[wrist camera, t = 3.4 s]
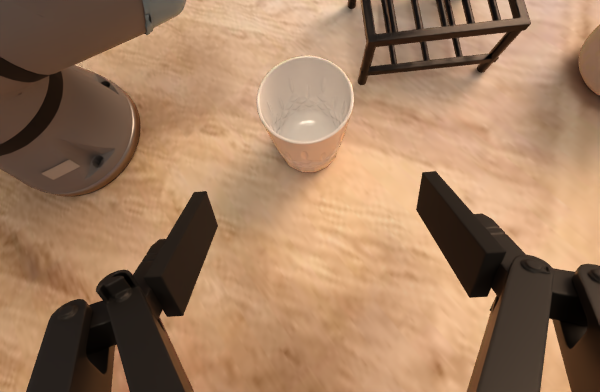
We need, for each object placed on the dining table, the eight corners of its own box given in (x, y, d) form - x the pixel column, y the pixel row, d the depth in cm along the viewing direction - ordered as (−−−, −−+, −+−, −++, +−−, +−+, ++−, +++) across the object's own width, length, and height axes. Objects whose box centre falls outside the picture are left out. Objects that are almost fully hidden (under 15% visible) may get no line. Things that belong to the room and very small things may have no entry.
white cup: (354, 130, 32) (370, 76, 22) (324, 189, 31) (326, 160, 21) (295, 104, 33) (284, 41, 23) (263, 159, 32) (238, 118, 22)
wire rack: (358, 85, 33) (368, 42, 26) (347, 2, 36) (354, -57, 29) (486, 72, 32) (531, 23, 25) (466, -12, 35) (502, -77, 28)
